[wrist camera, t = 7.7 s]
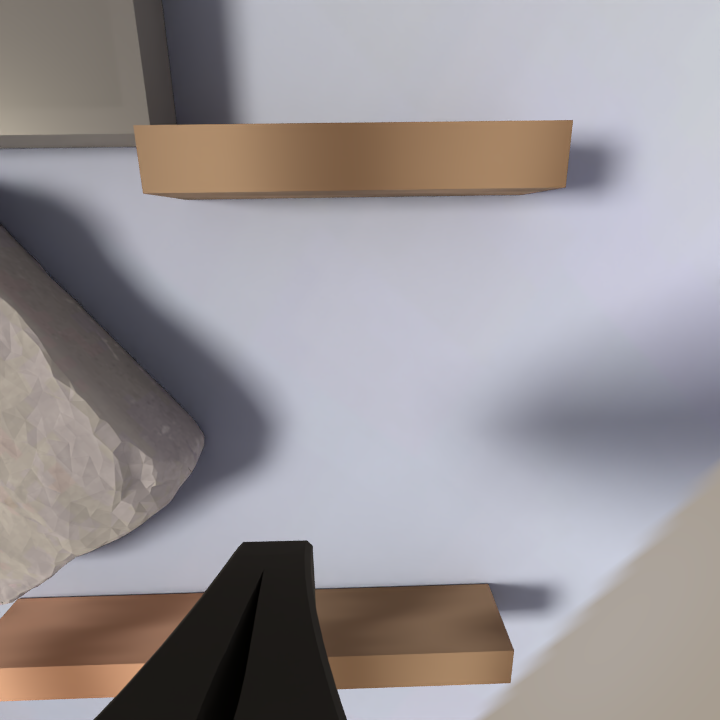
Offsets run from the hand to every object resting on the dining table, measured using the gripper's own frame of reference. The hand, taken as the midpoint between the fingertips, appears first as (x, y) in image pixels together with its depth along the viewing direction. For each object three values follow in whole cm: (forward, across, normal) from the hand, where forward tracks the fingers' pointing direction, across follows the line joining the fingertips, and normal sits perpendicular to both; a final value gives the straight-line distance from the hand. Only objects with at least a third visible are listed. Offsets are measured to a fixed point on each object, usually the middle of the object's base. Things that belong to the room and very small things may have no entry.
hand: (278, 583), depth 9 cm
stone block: (+8, +11, -1) cm, 13 cm away
